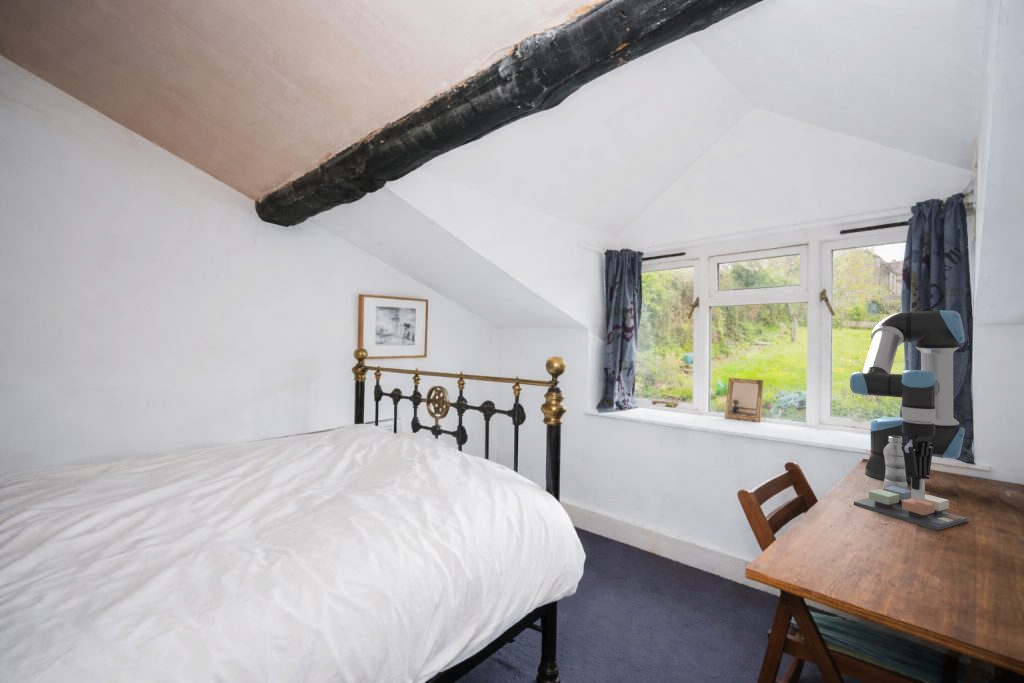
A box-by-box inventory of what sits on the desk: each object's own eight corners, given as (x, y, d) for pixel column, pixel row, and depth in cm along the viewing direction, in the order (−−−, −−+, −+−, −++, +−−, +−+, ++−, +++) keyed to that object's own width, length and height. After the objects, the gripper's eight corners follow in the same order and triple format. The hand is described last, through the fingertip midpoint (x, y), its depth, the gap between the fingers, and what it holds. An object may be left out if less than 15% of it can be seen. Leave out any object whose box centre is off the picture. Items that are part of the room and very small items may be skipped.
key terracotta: (912, 506, 140) (912, 497, 140) (934, 512, 135) (934, 503, 135) (901, 508, 138) (901, 500, 138) (924, 515, 133) (924, 506, 133)
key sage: (879, 496, 148) (879, 489, 148) (898, 502, 143) (898, 494, 143) (868, 499, 146) (868, 491, 146) (888, 504, 141) (888, 496, 141)
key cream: (926, 502, 143) (926, 494, 143) (948, 508, 138) (948, 500, 138) (916, 504, 141) (916, 496, 141) (939, 511, 136) (939, 502, 136)
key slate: (893, 493, 151) (893, 485, 151) (913, 498, 146) (913, 490, 146) (883, 495, 149) (883, 488, 149) (903, 501, 144) (903, 493, 144)
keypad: (882, 497, 155) (882, 488, 155) (967, 521, 135) (967, 511, 135) (853, 504, 149) (853, 495, 149) (937, 530, 129) (937, 520, 129)
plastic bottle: (913, 496, 156) (913, 438, 156) (893, 496, 156) (893, 438, 156) (897, 490, 162) (897, 434, 162) (878, 490, 162) (878, 434, 162)
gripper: (915, 418, 142) (915, 493, 142) (890, 421, 137) (890, 498, 137) (945, 422, 135) (945, 500, 135) (921, 425, 130) (921, 507, 130)
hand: (917, 499), depth 136 cm, fingers closed
